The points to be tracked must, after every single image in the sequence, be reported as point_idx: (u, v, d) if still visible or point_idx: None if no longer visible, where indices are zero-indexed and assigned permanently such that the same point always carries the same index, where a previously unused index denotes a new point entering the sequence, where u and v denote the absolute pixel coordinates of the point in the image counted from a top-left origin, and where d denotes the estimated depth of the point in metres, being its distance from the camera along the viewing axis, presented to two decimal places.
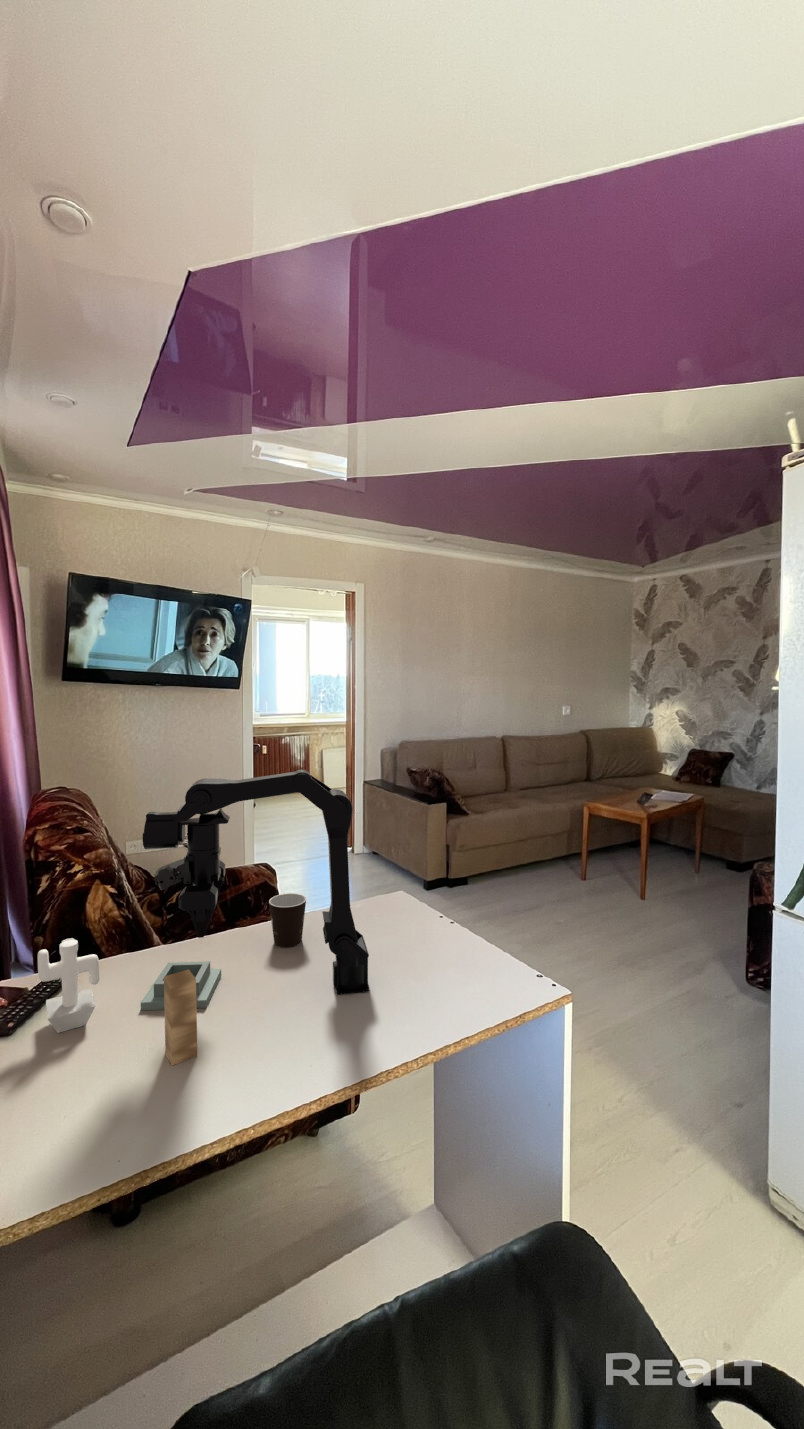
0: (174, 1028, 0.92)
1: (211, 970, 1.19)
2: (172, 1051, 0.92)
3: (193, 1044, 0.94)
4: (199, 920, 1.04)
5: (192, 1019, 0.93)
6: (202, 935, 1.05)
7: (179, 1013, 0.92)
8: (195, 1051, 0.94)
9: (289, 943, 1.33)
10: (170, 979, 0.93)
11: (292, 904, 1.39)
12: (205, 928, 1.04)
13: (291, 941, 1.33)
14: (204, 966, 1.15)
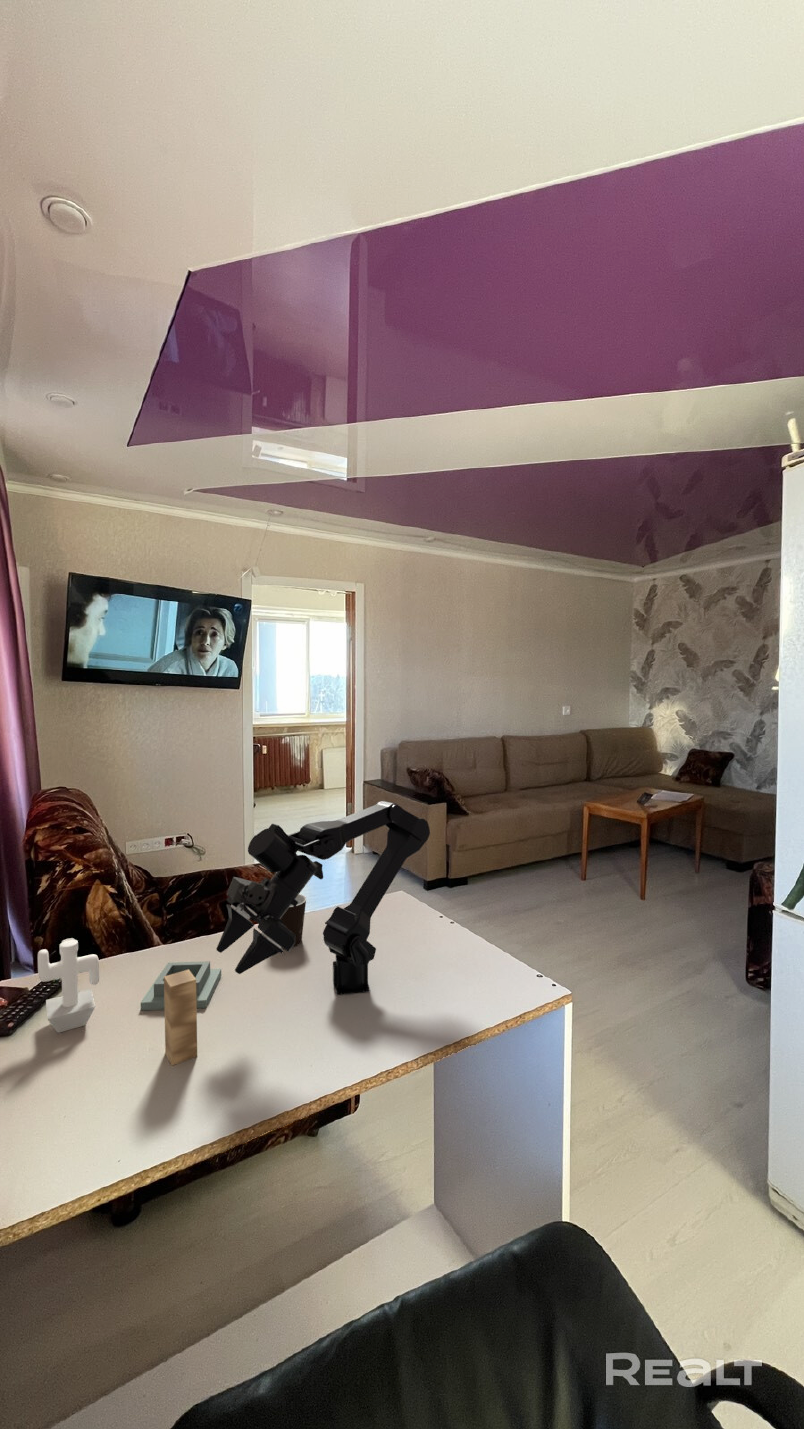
0: (174, 1028, 0.92)
1: (211, 970, 1.19)
2: (172, 1051, 0.92)
3: (193, 1044, 0.94)
4: (254, 955, 0.95)
5: (192, 1019, 0.93)
6: (240, 971, 0.95)
7: (179, 1013, 0.92)
8: (195, 1051, 0.94)
9: None
10: (170, 979, 0.93)
11: None
12: (250, 966, 0.95)
13: None
14: (204, 966, 1.15)
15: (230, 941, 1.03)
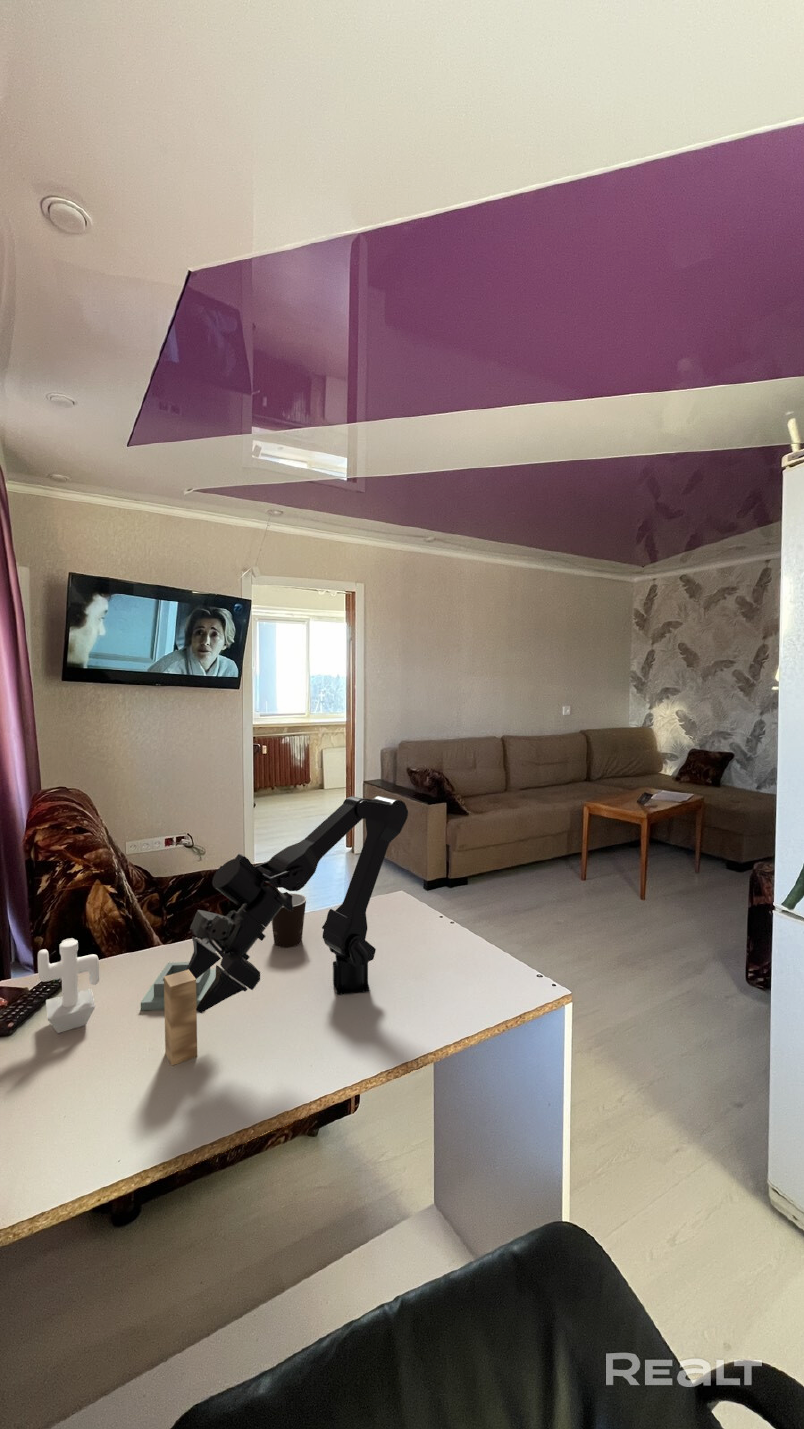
0: (174, 1028, 0.92)
1: (211, 970, 1.19)
2: (172, 1051, 0.92)
3: (193, 1044, 0.94)
4: (216, 993, 0.92)
5: (192, 1019, 0.93)
6: (202, 1010, 0.91)
7: (179, 1013, 0.92)
8: (195, 1051, 0.94)
9: (289, 943, 1.33)
10: (170, 979, 0.93)
11: None
12: (212, 1005, 0.92)
13: (291, 941, 1.33)
14: None
15: (194, 976, 1.00)
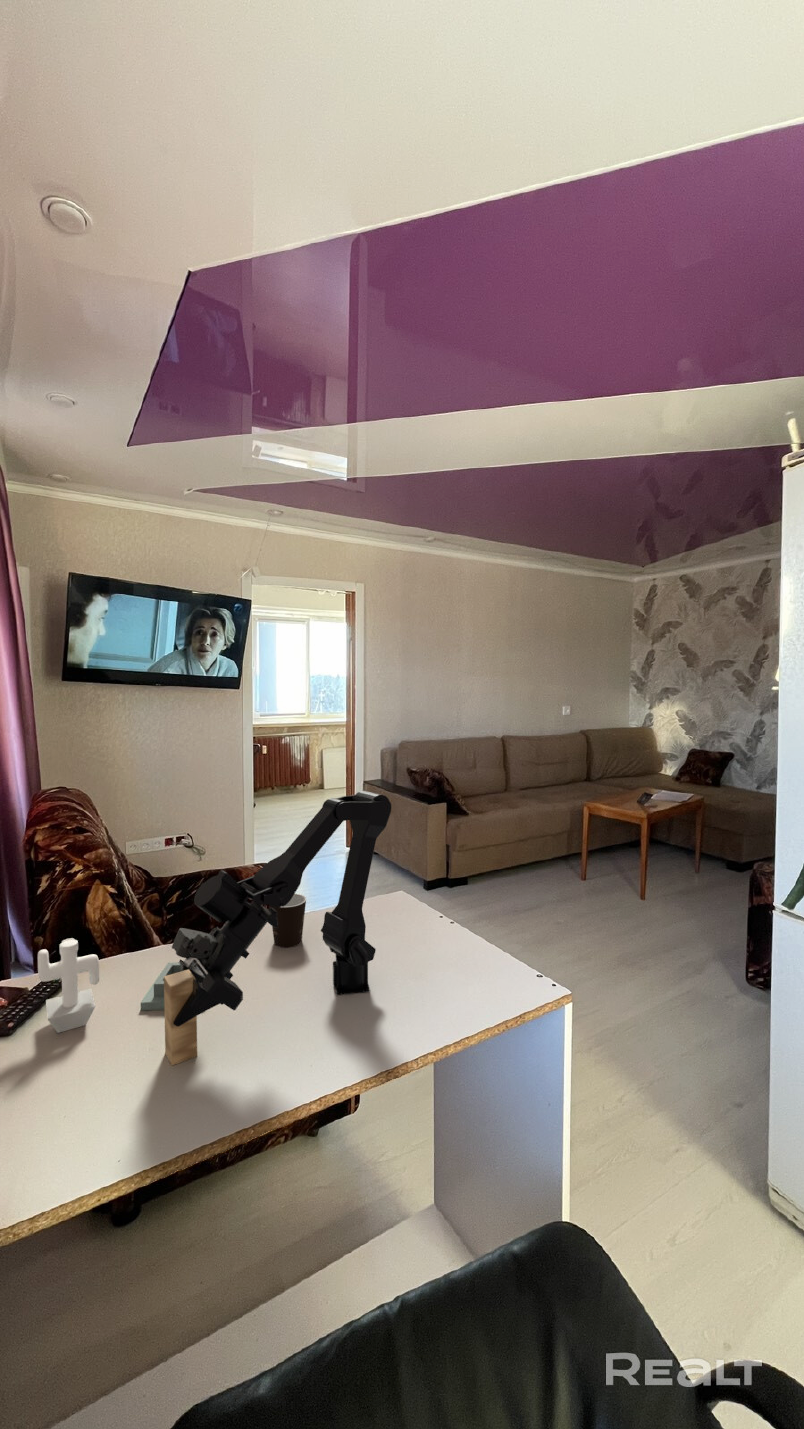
0: (174, 1028, 0.92)
1: None
2: (172, 1051, 0.92)
3: (193, 1044, 0.94)
4: (193, 1007, 0.92)
5: (192, 1019, 0.93)
6: (179, 1024, 0.92)
7: None
8: (195, 1051, 0.94)
9: (289, 943, 1.33)
10: (170, 979, 0.93)
11: (292, 904, 1.39)
12: (189, 1018, 0.92)
13: (291, 941, 1.33)
14: None
15: None
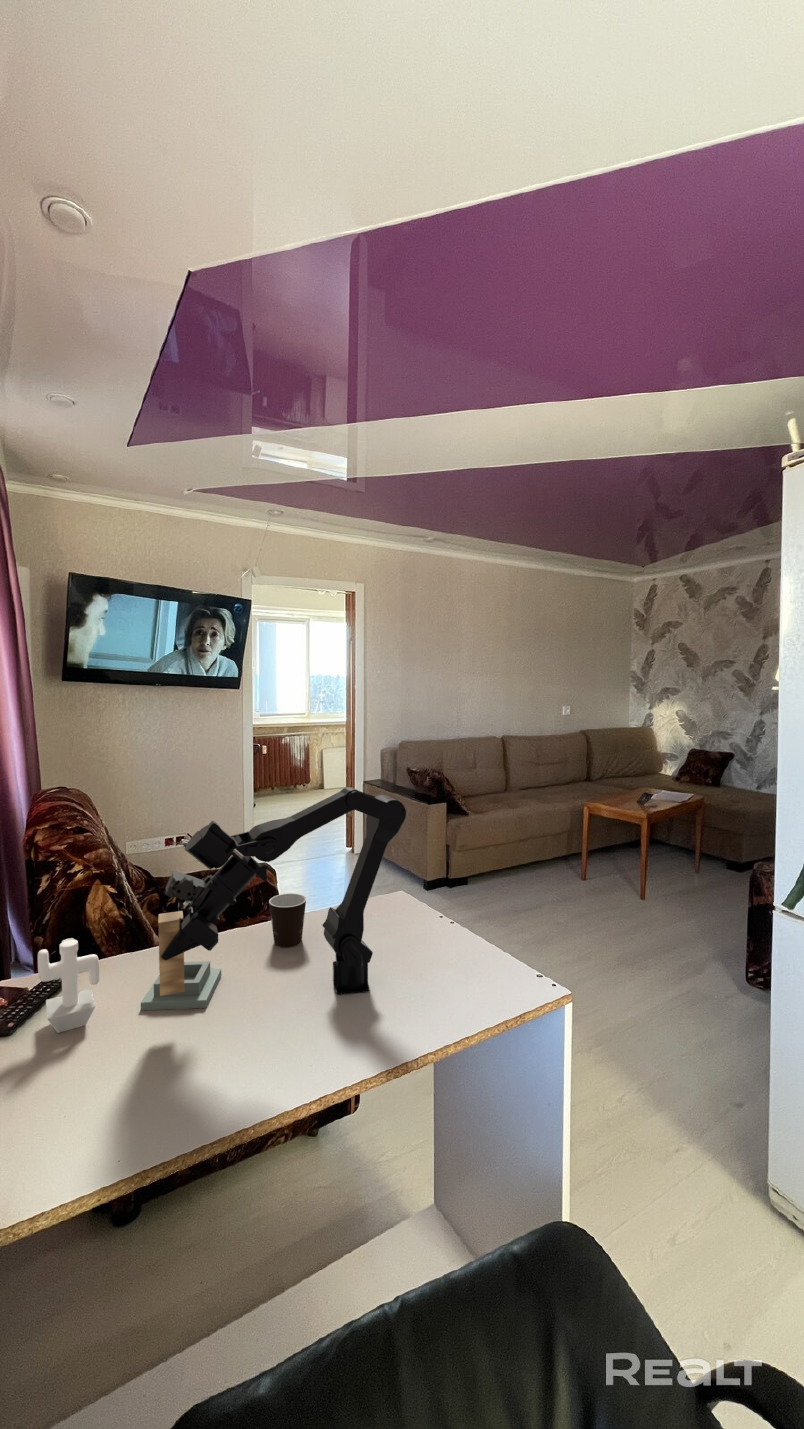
0: (162, 962, 0.99)
1: (211, 970, 1.19)
2: (160, 982, 0.99)
3: (180, 979, 1.01)
4: (178, 944, 0.99)
5: (179, 956, 1.00)
6: (166, 958, 0.99)
7: None
8: (182, 986, 1.01)
9: (289, 943, 1.33)
10: (162, 917, 1.01)
11: (292, 904, 1.39)
12: (175, 954, 0.99)
13: (291, 941, 1.33)
14: (204, 966, 1.15)
15: None
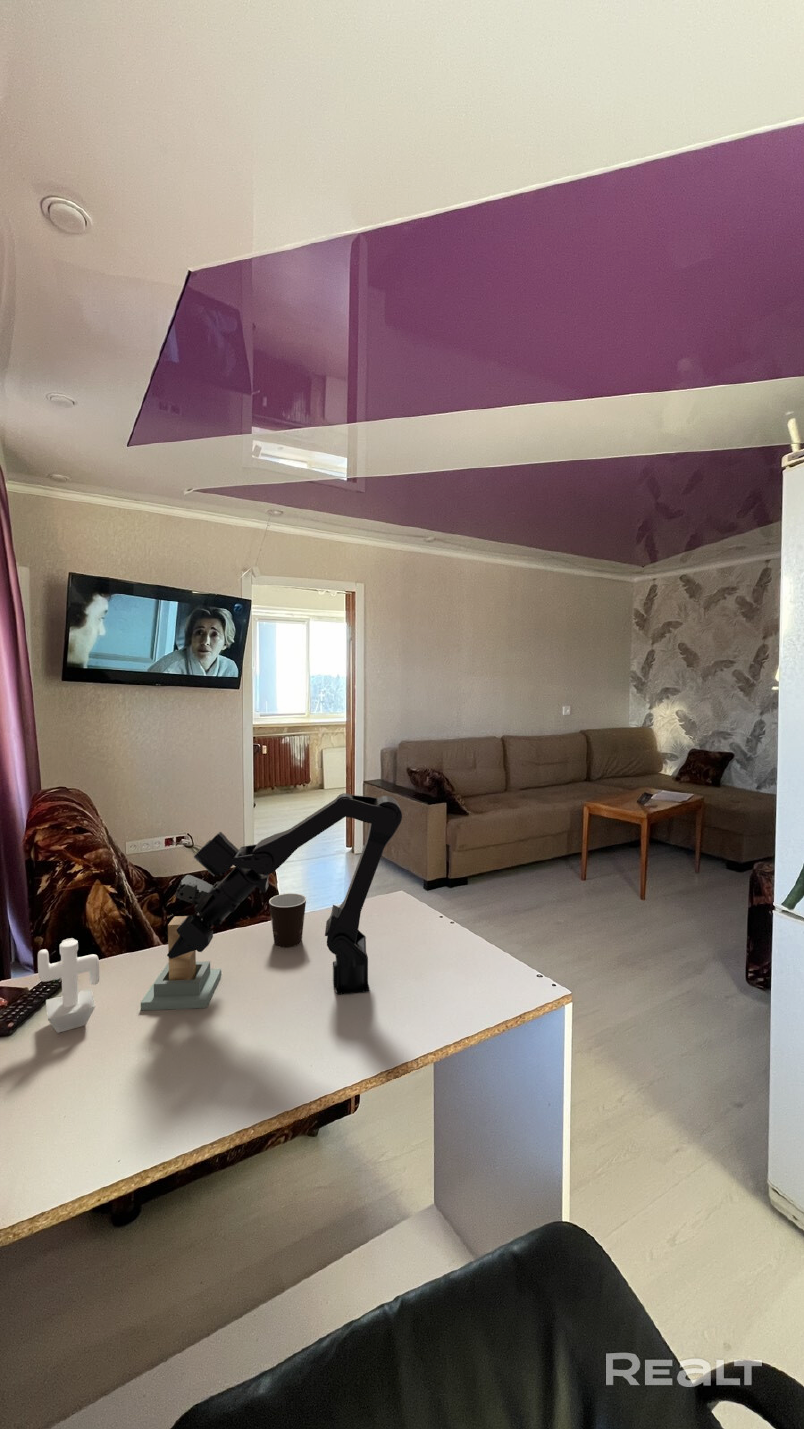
0: (171, 960, 1.11)
1: (211, 970, 1.19)
2: (169, 978, 1.11)
3: (187, 978, 1.11)
4: (180, 945, 1.08)
5: (185, 957, 1.11)
6: (171, 957, 1.09)
7: None
8: None
9: (289, 943, 1.33)
10: (175, 919, 1.13)
11: (292, 904, 1.39)
12: (178, 954, 1.08)
13: (291, 941, 1.33)
14: (204, 966, 1.15)
15: None
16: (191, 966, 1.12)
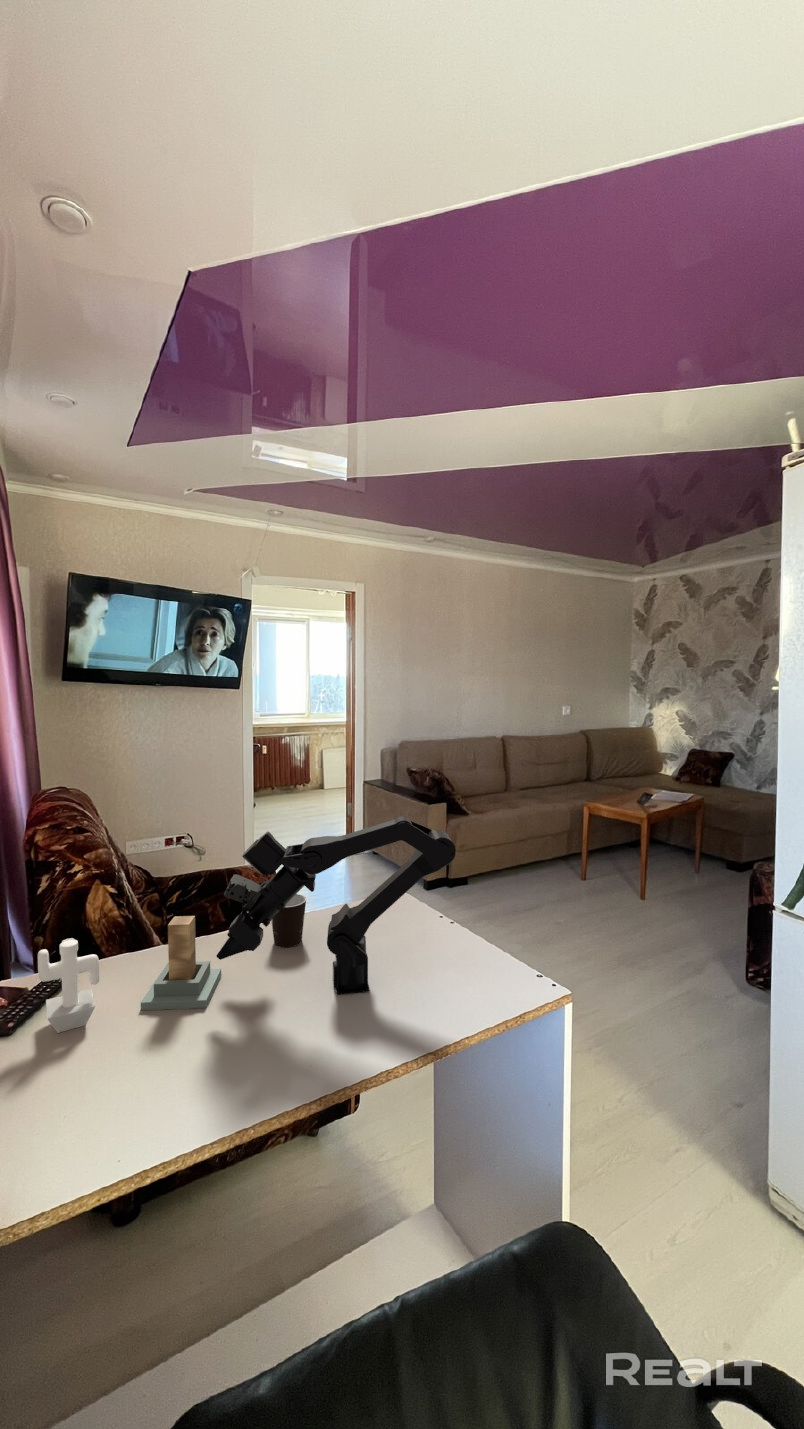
0: (171, 960, 1.11)
1: (211, 970, 1.19)
2: (169, 978, 1.11)
3: (187, 978, 1.11)
4: (230, 946, 1.08)
5: (185, 957, 1.11)
6: (220, 957, 1.09)
7: (175, 948, 1.11)
8: None
9: (289, 943, 1.33)
10: (175, 919, 1.13)
11: (292, 904, 1.39)
12: (227, 955, 1.08)
13: (291, 941, 1.33)
14: (204, 966, 1.15)
15: None
16: (191, 966, 1.12)
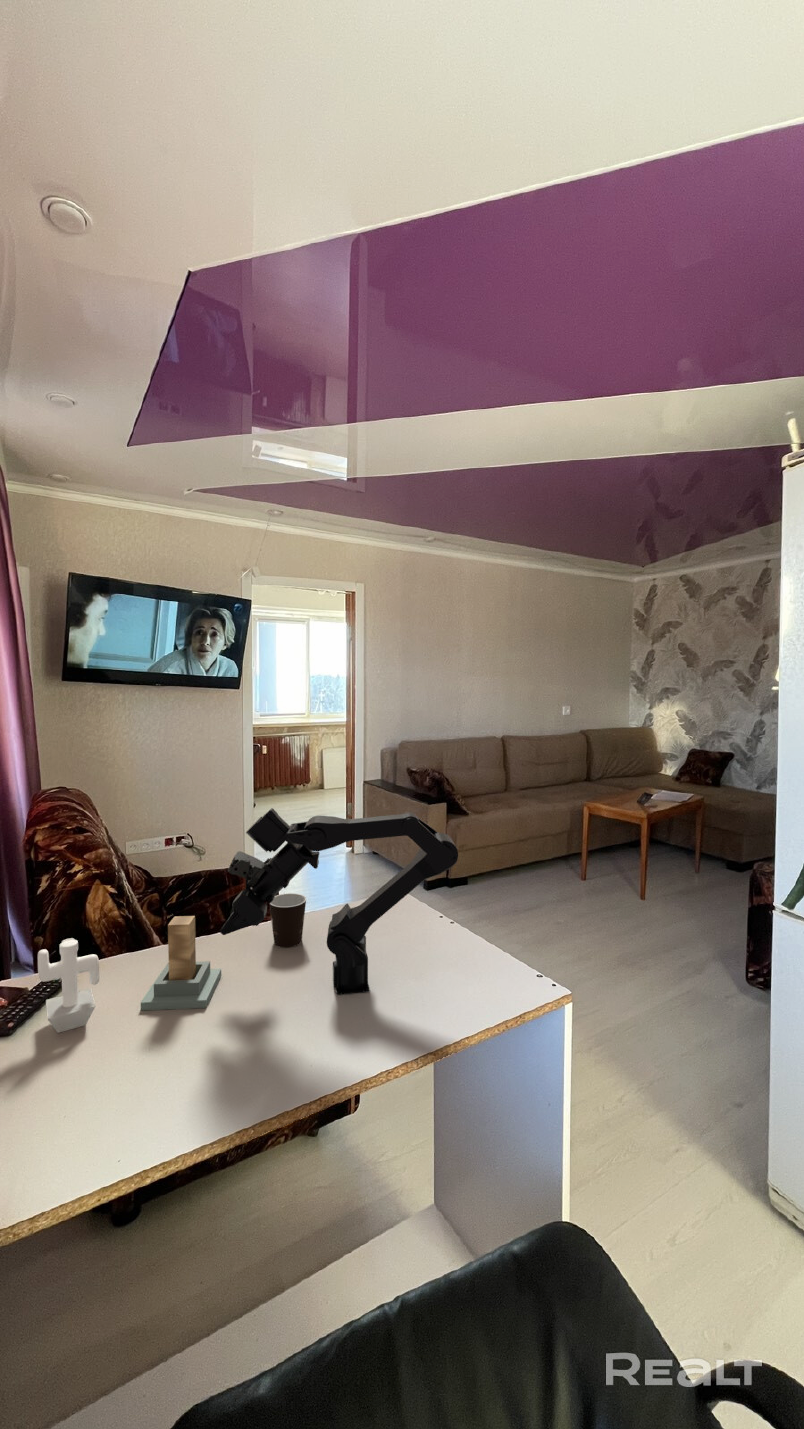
0: (171, 960, 1.11)
1: (211, 970, 1.19)
2: (169, 978, 1.11)
3: (187, 978, 1.11)
4: (233, 922, 1.08)
5: (185, 957, 1.11)
6: (224, 933, 1.09)
7: (175, 948, 1.11)
8: None
9: (289, 943, 1.33)
10: (175, 919, 1.13)
11: (292, 904, 1.39)
12: (231, 931, 1.08)
13: (291, 941, 1.33)
14: (204, 966, 1.15)
15: None
16: (191, 966, 1.12)
